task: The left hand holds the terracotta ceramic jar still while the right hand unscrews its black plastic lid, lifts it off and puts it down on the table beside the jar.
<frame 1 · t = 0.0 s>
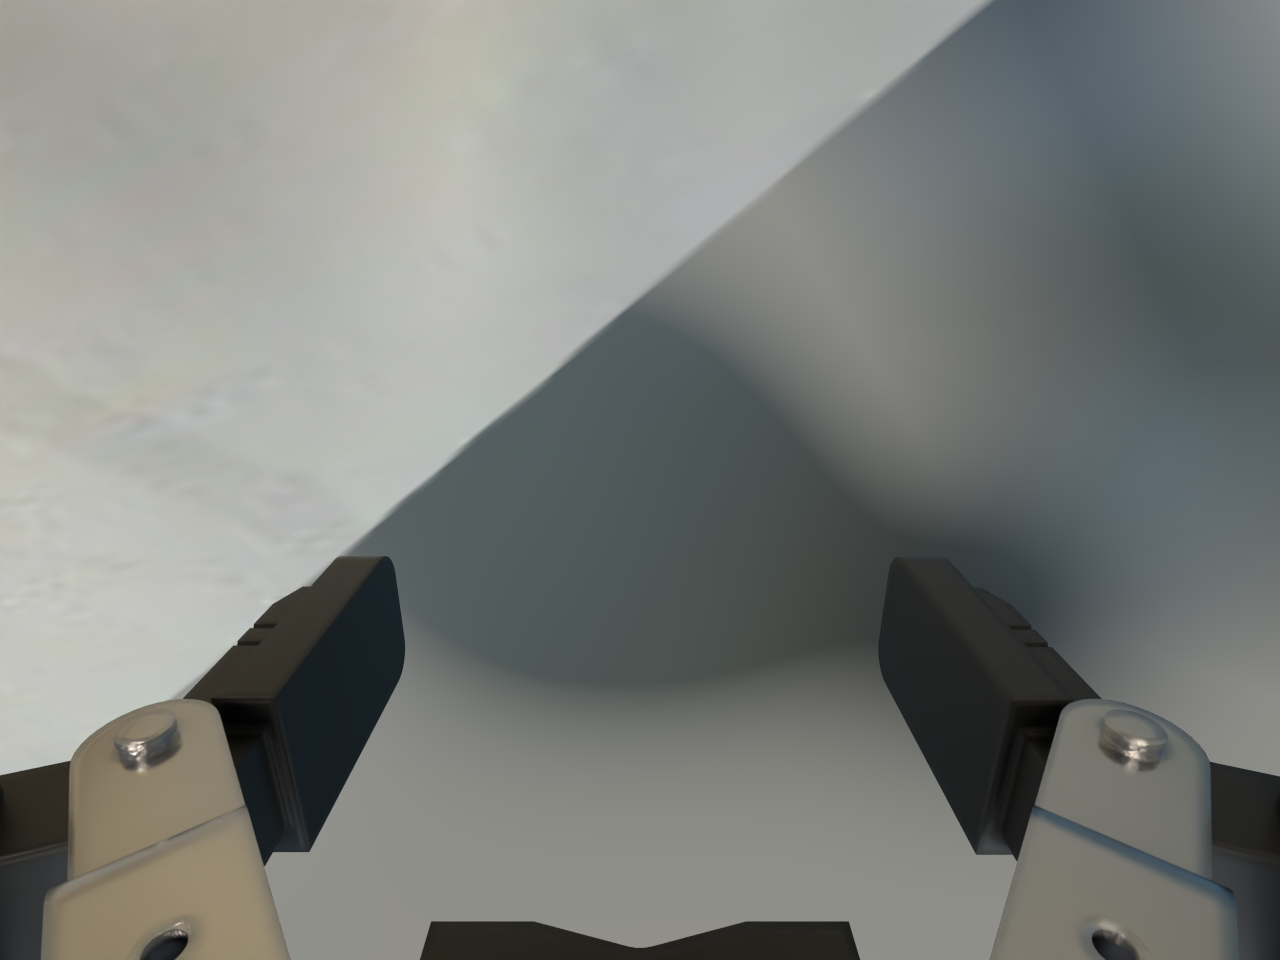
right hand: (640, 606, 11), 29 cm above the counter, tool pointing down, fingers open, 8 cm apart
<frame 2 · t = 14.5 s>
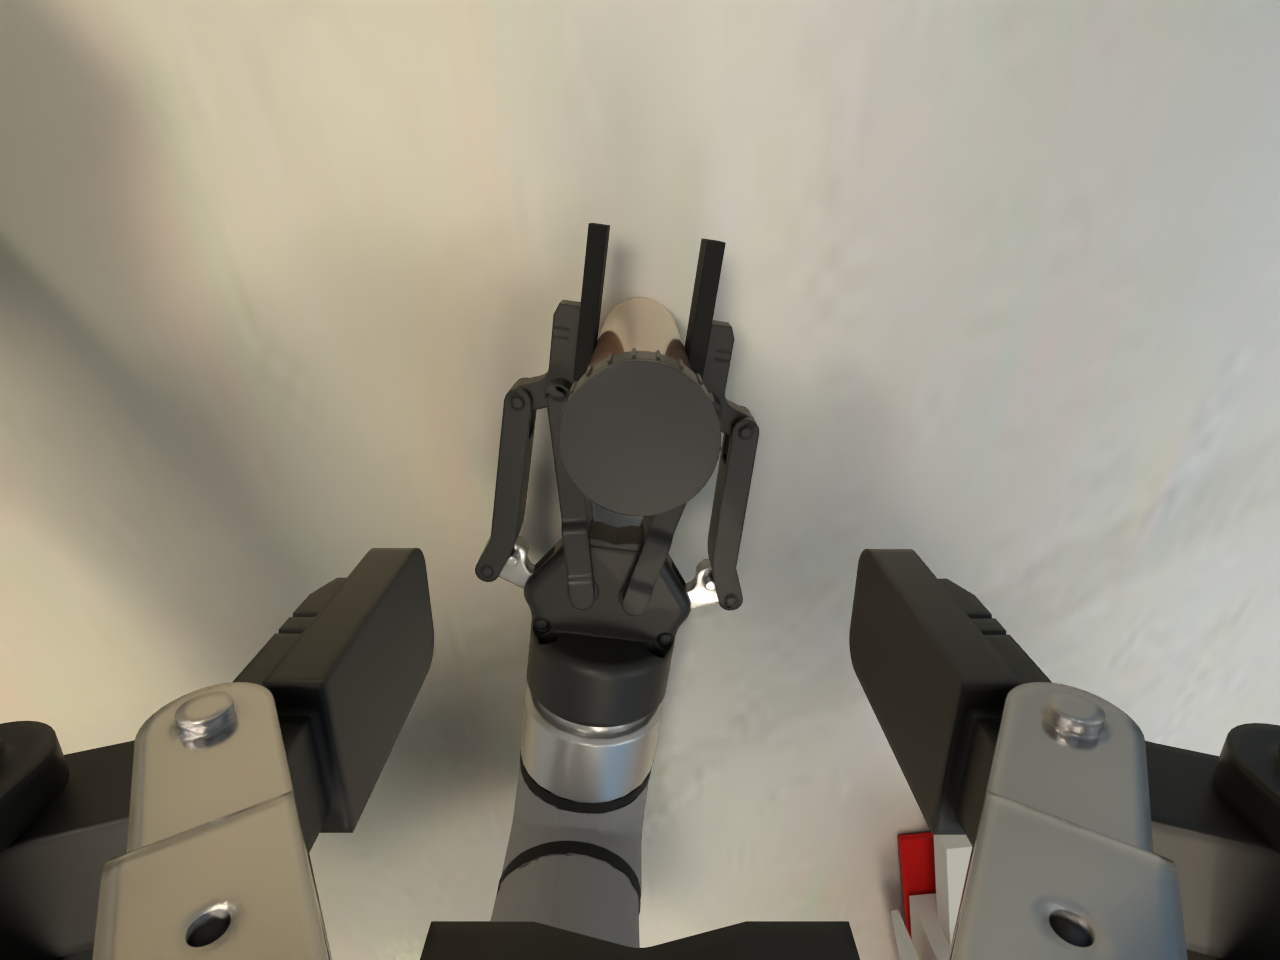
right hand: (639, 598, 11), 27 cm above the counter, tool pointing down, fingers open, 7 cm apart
left hand: (656, 233, 29), fingers closed on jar, 4 cm apart
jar: (639, 336, 37), on the counter, touching left hand
lid: (639, 438, 20), point 18 cm above the counter, screwed on, not yet turned
toy: (953, 934, 53), on the counter
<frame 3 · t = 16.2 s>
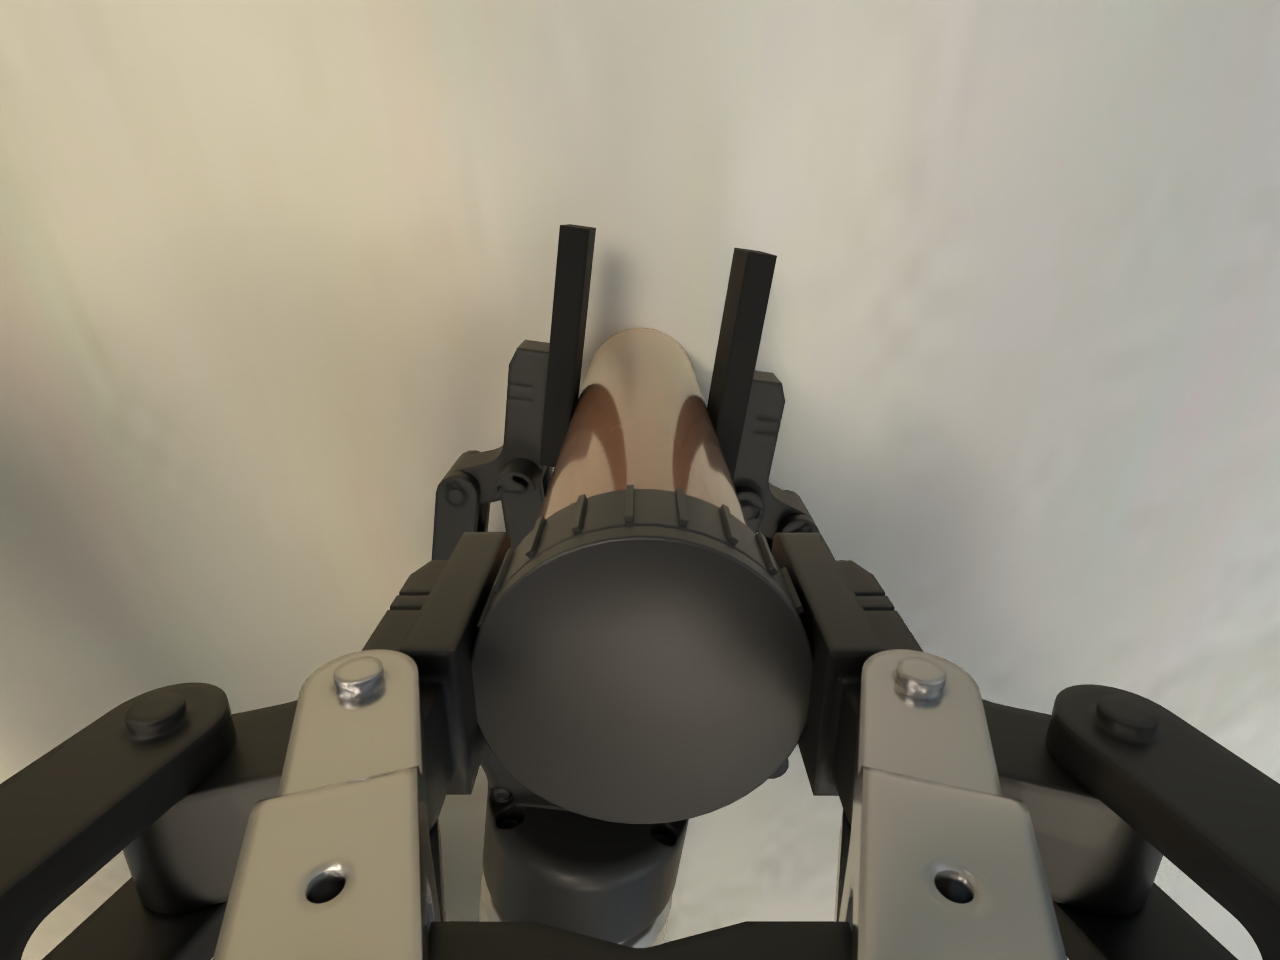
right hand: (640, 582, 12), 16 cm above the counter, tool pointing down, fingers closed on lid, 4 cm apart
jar: (640, 381, 27), on the counter, touching left hand
lid: (642, 677, 9), point 18 cm above the counter, screwed on, not yet turned, touching right hand
when the right hand's fingers open (16 cm above the counter, at t = 18.1 s): lid stays where it is, point 19 cm above the counter.
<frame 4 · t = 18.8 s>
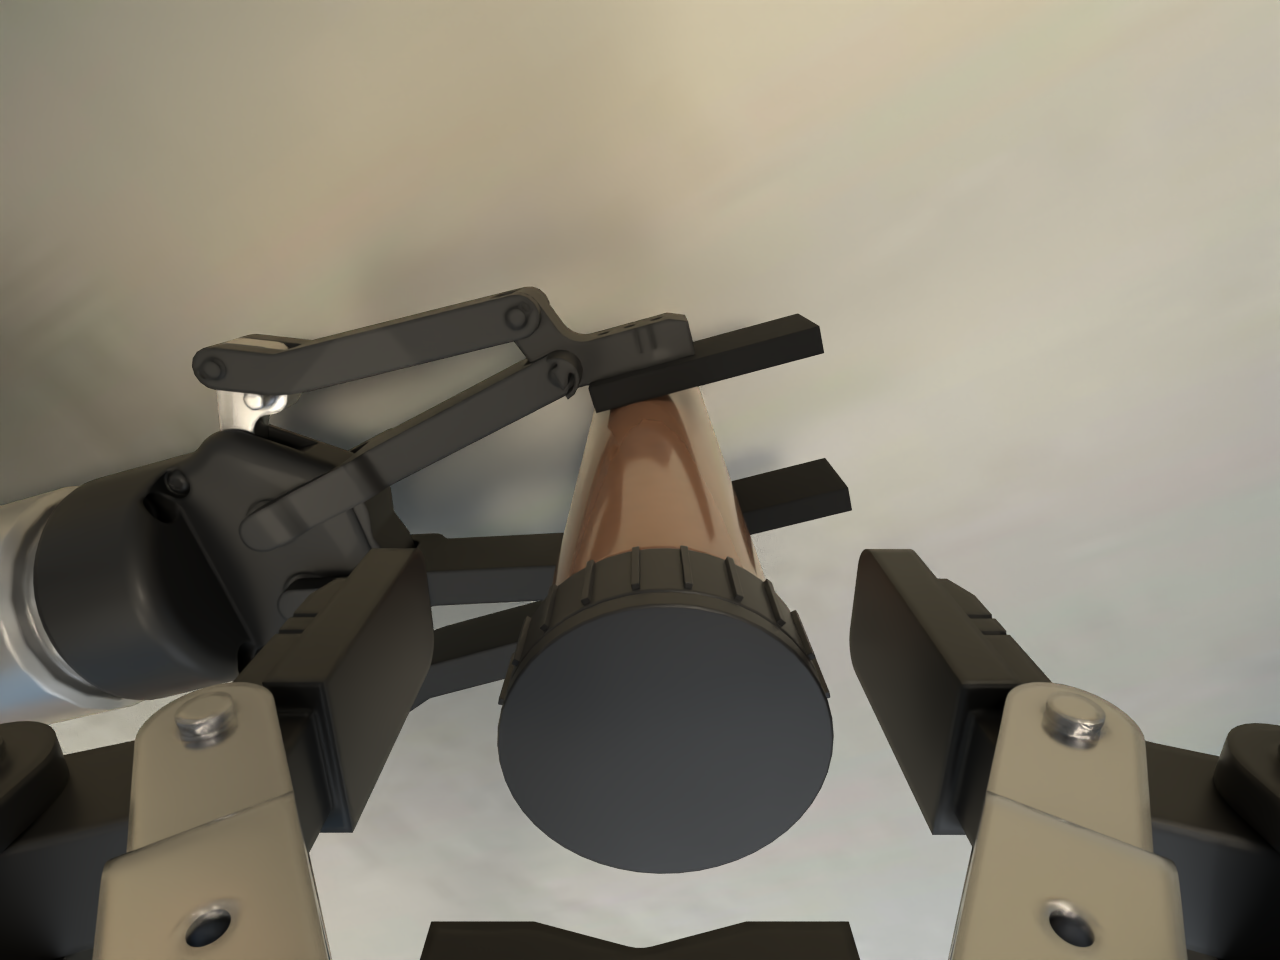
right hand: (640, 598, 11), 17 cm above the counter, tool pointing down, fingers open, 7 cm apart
left hand: (822, 410, 21), fingers closed on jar, 4 cm apart
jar: (649, 404, 27), on the counter, touching left hand
lid: (664, 733, 10), point 19 cm above the counter, turned 107° so far, risen 0.3 cm, still on its thread
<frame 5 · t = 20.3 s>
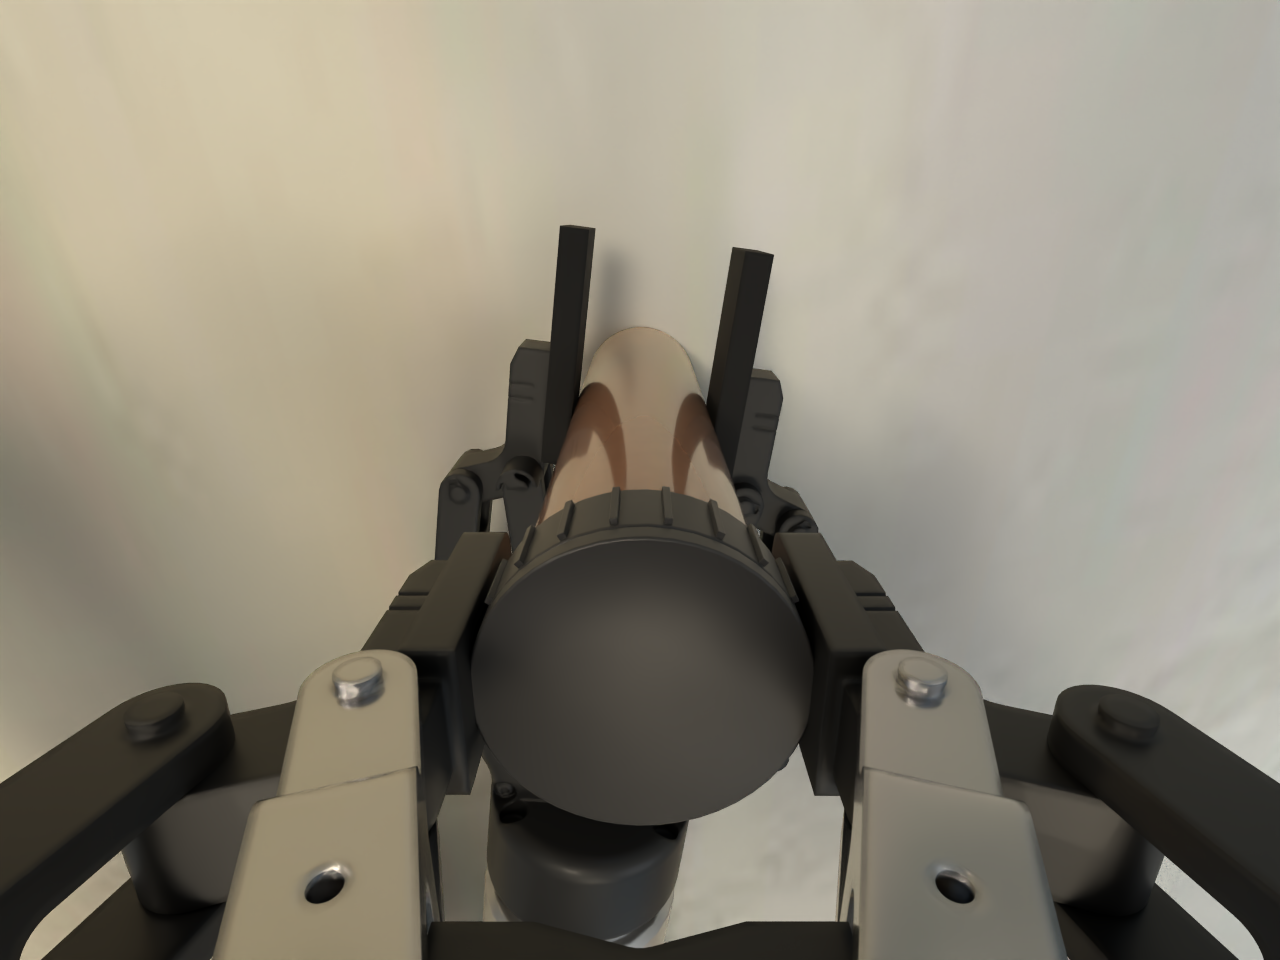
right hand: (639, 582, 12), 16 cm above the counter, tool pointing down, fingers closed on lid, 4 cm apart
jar: (640, 380, 27), on the counter, touching left hand
lid: (642, 678, 9), point 19 cm above the counter, turned 107° so far, risen 0.3 cm, still on its thread, touching right hand
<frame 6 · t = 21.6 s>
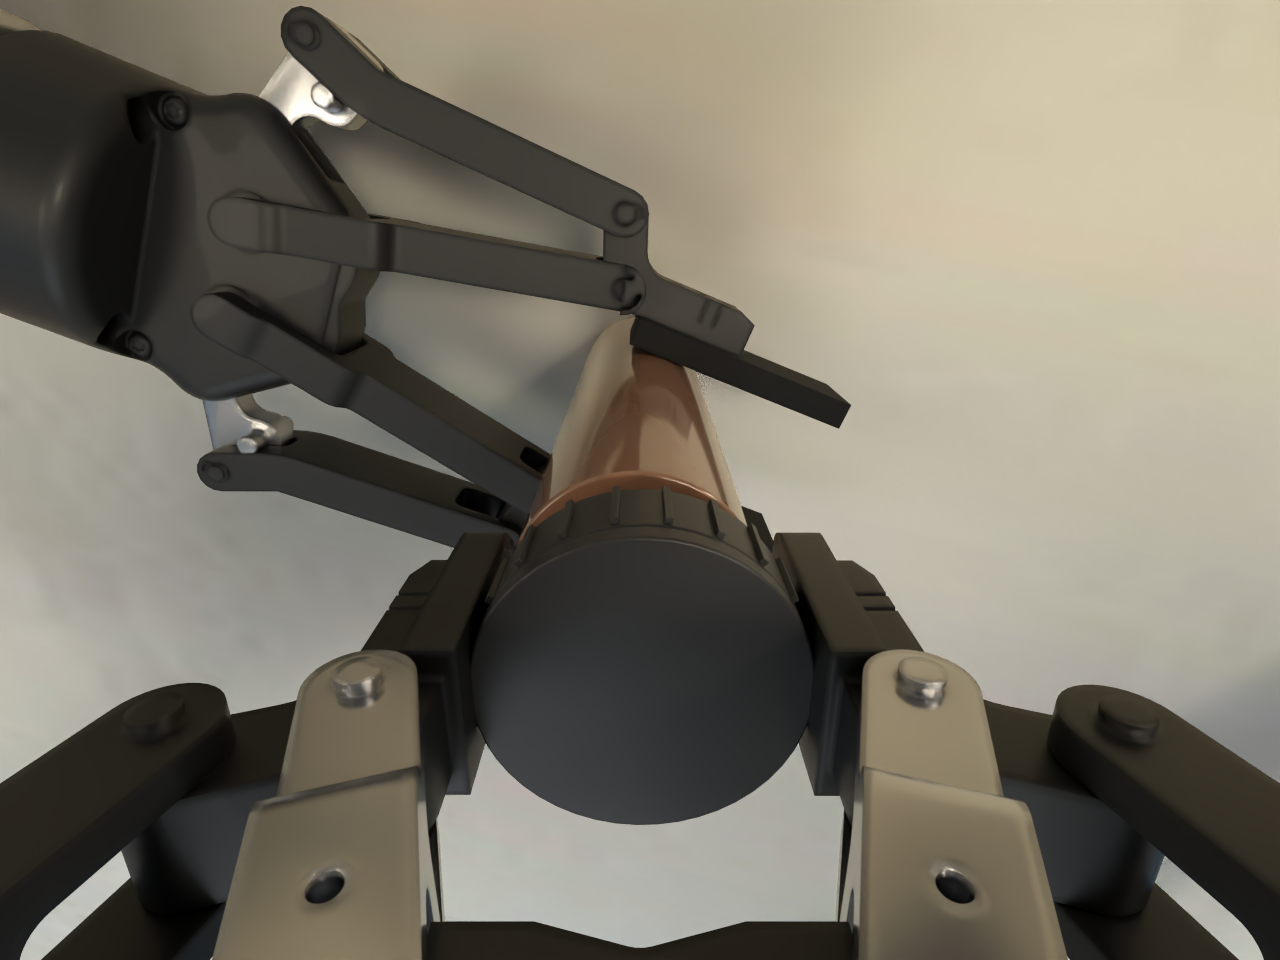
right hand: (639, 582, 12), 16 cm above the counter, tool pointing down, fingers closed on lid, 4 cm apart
left hand: (795, 474, 22), fingers closed on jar, 4 cm apart
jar: (639, 370, 27), on the counter, touching left hand
lid: (642, 678, 9), point 19 cm above the counter, off its thread, touching right hand
when the right hand's fingers open (0 cm above the counter, at t = 28.2 s): lid drops 2 cm, point 1 cm above the counter.
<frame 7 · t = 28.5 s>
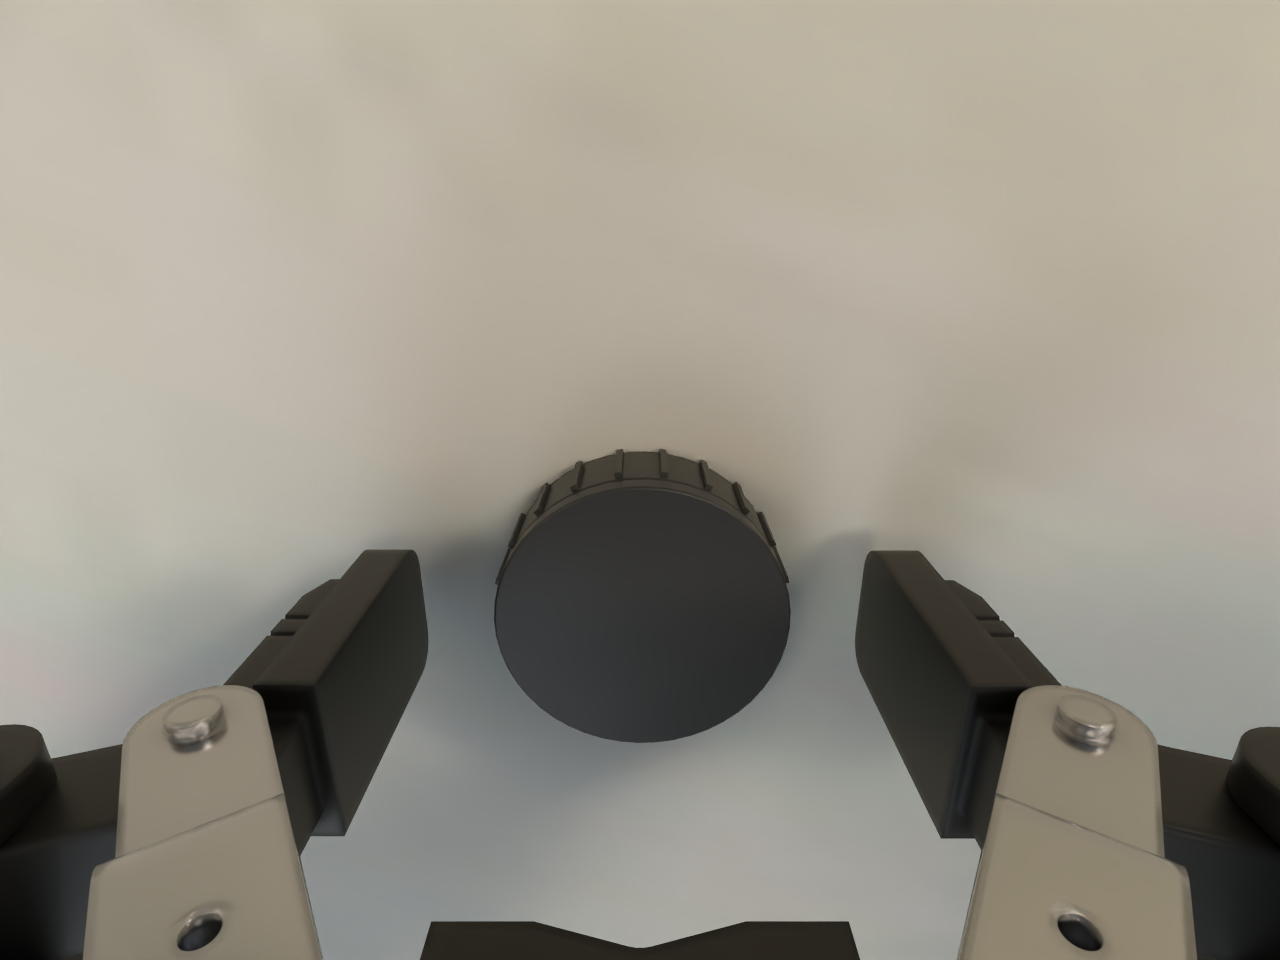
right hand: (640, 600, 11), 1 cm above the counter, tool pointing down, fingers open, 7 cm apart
lid: (642, 613, 11), point 1 cm above the counter, off its thread
when the left hand's fingers open (6 cm above the counter, at t = 29.1 s): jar stays where it is, on the counter.
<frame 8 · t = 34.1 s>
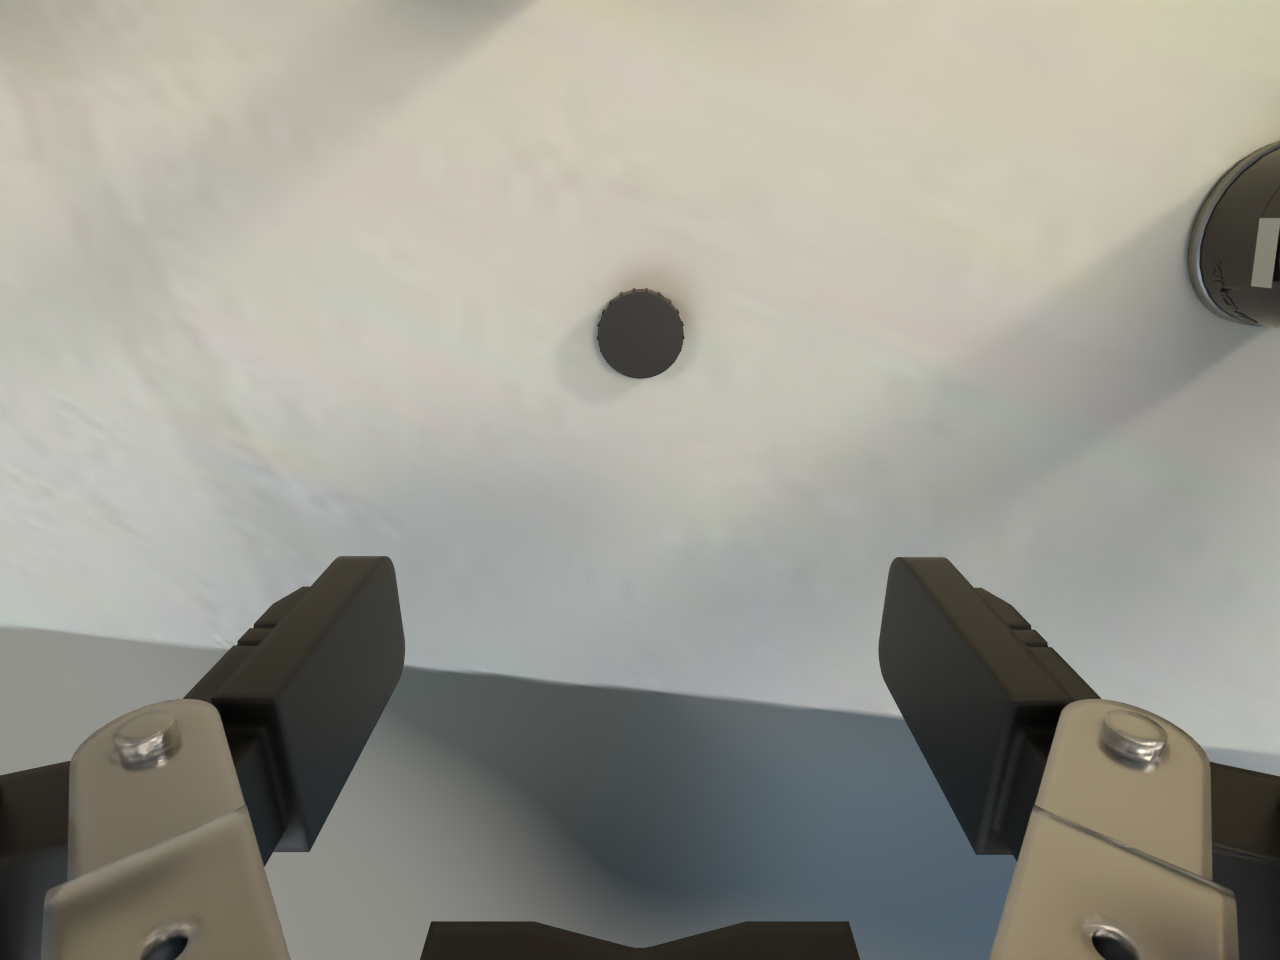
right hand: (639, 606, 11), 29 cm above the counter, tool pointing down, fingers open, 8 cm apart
lid: (640, 335, 37), point 1 cm above the counter, off its thread
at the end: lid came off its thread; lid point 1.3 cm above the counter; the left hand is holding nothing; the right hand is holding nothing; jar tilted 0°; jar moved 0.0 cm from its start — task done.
